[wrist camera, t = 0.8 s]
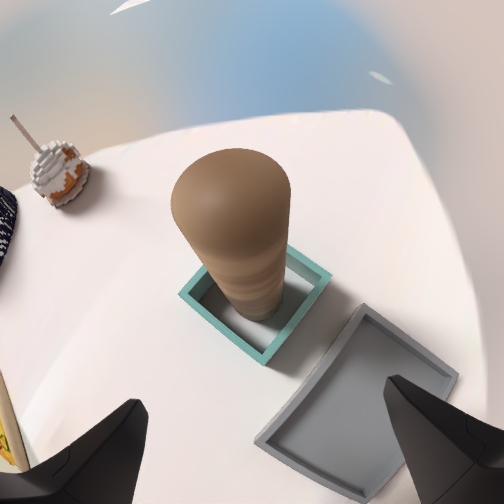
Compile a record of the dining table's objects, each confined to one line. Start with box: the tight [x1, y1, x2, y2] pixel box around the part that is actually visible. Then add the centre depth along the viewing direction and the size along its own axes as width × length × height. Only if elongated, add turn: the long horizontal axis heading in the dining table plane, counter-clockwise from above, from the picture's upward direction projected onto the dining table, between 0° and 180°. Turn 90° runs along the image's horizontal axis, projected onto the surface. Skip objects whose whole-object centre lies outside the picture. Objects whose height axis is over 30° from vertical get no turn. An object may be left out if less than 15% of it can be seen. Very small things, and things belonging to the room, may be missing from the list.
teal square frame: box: [178, 244, 332, 366], centre depth 22 cm, size 9×9×3 cm
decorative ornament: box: [10, 114, 90, 207], centre depth 25 cm, size 8×8×15 cm
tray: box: [254, 303, 459, 504], centre depth 18 cm, size 14×12×2 cm
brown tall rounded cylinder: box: [171, 148, 291, 321], centre depth 16 cm, size 4×4×15 cm
